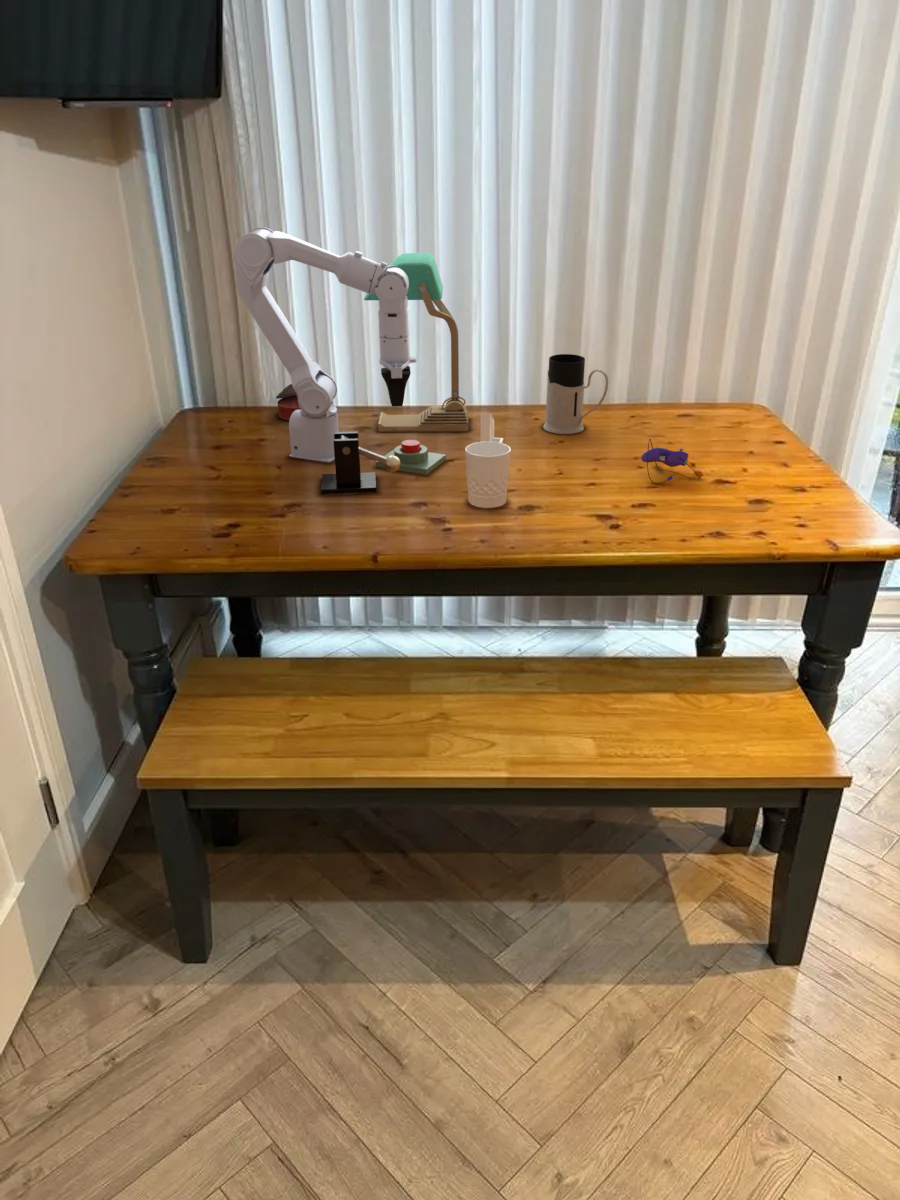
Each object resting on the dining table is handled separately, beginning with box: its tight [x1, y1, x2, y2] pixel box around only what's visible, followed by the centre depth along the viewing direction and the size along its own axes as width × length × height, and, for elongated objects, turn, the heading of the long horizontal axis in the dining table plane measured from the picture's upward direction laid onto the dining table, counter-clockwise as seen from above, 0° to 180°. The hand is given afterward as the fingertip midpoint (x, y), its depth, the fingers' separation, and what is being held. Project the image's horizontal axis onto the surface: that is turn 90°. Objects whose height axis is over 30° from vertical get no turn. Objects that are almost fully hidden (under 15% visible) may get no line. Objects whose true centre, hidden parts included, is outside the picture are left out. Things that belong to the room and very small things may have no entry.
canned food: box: [275, 383, 301, 421], centre depth 215 cm, size 11×10×10 cm
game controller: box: [640, 438, 701, 485], centre depth 179 cm, size 10×8×10 cm
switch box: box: [375, 444, 447, 475], centre depth 186 cm, size 11×9×3 cm
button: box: [400, 439, 421, 453], centre depth 185 cm, size 4×4×2 cm
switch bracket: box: [320, 430, 377, 495], centre depth 174 cm, size 10×8×10 cm
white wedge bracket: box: [479, 411, 504, 444], centre depth 187 cm, size 4×10×9 cm
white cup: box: [464, 441, 512, 509], centre depth 167 cm, size 8×8×10 cm
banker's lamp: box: [363, 252, 469, 433], centre depth 200 cm, size 16×21×35 cm
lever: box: [340, 435, 400, 473], centre depth 174 cm, size 12×3×3 cm, turn 93°
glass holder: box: [542, 353, 609, 435], centre depth 201 cm, size 9×14×15 cm, turn 54°
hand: (397, 405), depth 186 cm, fingers closed
